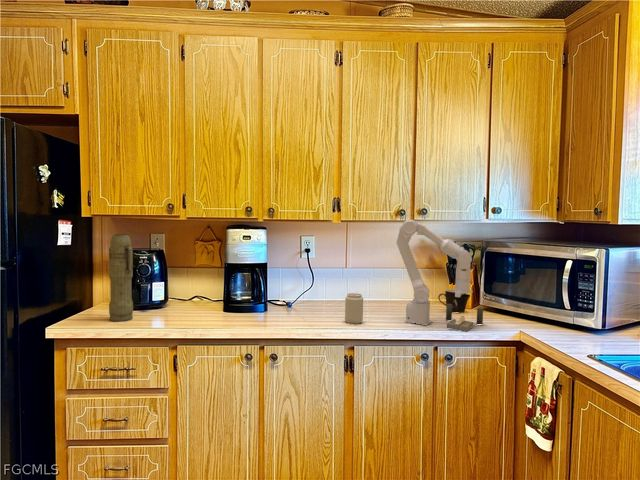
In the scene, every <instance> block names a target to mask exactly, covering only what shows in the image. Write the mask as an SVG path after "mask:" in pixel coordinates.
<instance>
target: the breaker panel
mask: <svg viewBox="0 0 640 480" xmlns="http://www.w3.org/2000/svg"><path fill="white" fill-rule="evenodd" d="M456 319H457V318H453V319H452V321H448V322H447V323H446V329H447V328H452V329H457V330H456V331H458V330H461V331H460V332H464V331H465V332H466V333H467V332H469V331H470V330H471V329H472V328H473V327H474V322H473V321H470V320H469V321H468V320H465V321H463V322H462V323H461V324H459V325H457V324H455V323H456ZM472 326H473V327H472ZM471 327H472V328H471ZM470 328H471V329H470ZM452 329H451V330H452ZM469 329H470V330H469Z"/></svg>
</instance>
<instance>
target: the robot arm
mask: <svg viewBox="0 0 640 480" xmlns="http://www.w3.org/2000/svg"><path fill="white" fill-rule="evenodd" d="M414 234H416V235H419V236H424V237H425V238H427V239H429V240H430V241H432V242H434V243H435V244H436V245H438V246H439V250H440V251H441V252H443V253H444V254H445V255H448V256H449V257H450V258H451V259H456V268H455V282H454V283H455V285H454V286H455V287H454V289H455V295H454V297H455V299H456V302H457V306H458V311H459V312H461V313H465V310H466V309H467V304H468V302H469V299H470V297H471V294H472V293H473V290H470V289H471V271H472V270H471V266H472V265H471V263H472V261H473V257H472V255H471V253H470V252H469V251H468V250H466V249H465V247H464V246H460V245H459V244H457V243H456V242H455V240H454V239H450V238H445V239H444V238H443V237H441V236H440V235H439V234H437V233H436V232H434V231H433V230H431V229H429V227H427V226H426V225H423V224H421V223H419V222H417V221H415V220H414V219H407V220H405V221H404V222H403V223H402V224H401V226H400V228H399V232H398V234H397V238H396V245H397V248H398V250H399V254H400V255H401V258H402V261H403V264H404V267H405V269H406V273H408V276H409V277H408V278H409V280H410V282H411V287H412V289H413V299H412V300H408V301H407V303H406V306H405V307H406V308H405V320H404V322H405V323H408V324H414V323H416V324H415V325H420V324H422V325H421V326H428V325H429V323H430V324H432V323H433V320H430V314H431V313H430V311H431V310H430V309H431V301H430V300H429V299H430V289H429V288H428V286H427V285H426V284H425V282H424V279H423V278H422V275H421V272H420V270H419V268H418V267H419V266H417V263H416V260H415V257H414V255H413V251H412V250H411V246H410V244H409V243H410V240H411V239H412V237H413V236H414ZM469 293H470V294H469ZM427 324H428V325H427Z"/></svg>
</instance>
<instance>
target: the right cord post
mask: <svg viewBox="0 0 640 480" xmlns="http://www.w3.org/2000/svg"><path fill="white" fill-rule="evenodd" d="M483 319H484V308H482V307H477V308H476V325H477V324H483V322H484V320H483ZM483 325H484V324H483Z"/></svg>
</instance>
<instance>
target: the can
mask: <svg viewBox="0 0 640 480" xmlns="http://www.w3.org/2000/svg"><path fill="white" fill-rule="evenodd" d="M363 318H364V298H363V294H362V293H358V292H357V293H356V292H355V293H354V292H353V293H351V292H350V293H347V295H346V297H345V301H344V321H345V322H346V323H347V324H350V325H351V324H352V325H360V324H361V323H362V322H363V320H364V319H363Z"/></svg>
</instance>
